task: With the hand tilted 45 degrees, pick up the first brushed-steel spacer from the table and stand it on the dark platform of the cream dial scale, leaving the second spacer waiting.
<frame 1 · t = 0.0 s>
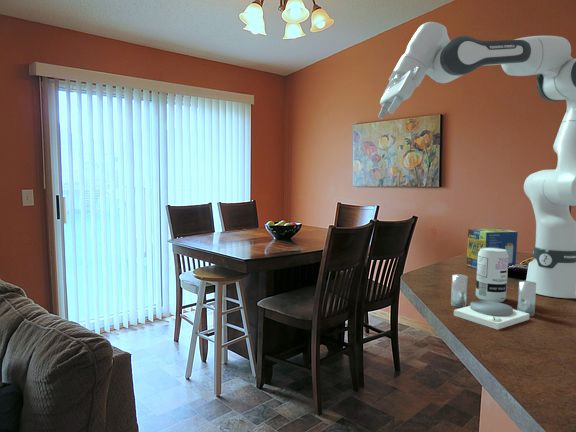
hand: (385, 115, 124), 54 cm above the countertop, tool tilted 30°, fingers open, 8 cm apart
scale: (490, 317, 108), on the countertop
supplement can: (490, 299, 125), on the countertop
spacer b: (525, 313, 111), on the countertop
protein box: (490, 268, 169), on the countertop
spacer a: (458, 305, 118), on the countertop
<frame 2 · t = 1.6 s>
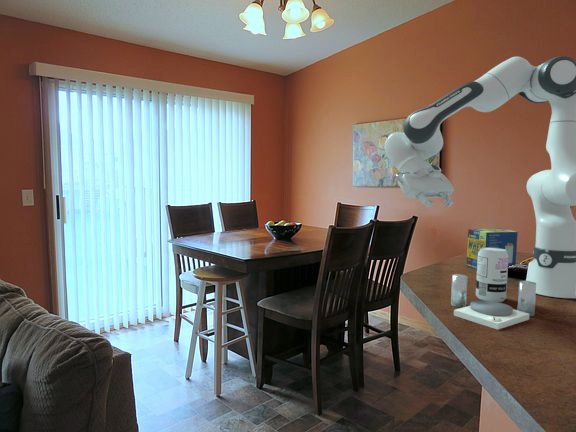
hand: (440, 205, 126), 28 cm above the countertop, tool tilted 45°, fingers open, 8 cm apart
nothing on the countertop moved.
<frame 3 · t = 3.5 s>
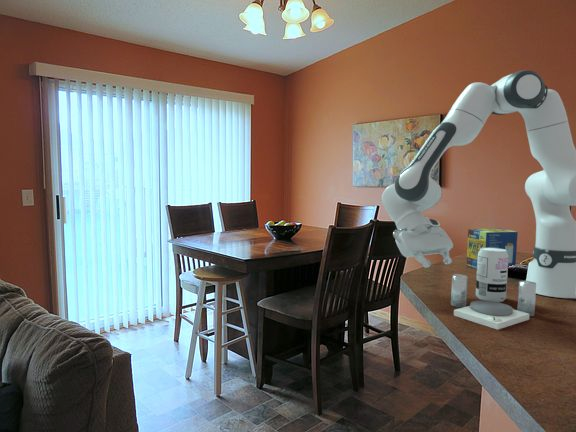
hand: (439, 264, 123), 10 cm above the countertop, tool tilted 45°, fingers open, 8 cm apart
nothing on the countertop moved.
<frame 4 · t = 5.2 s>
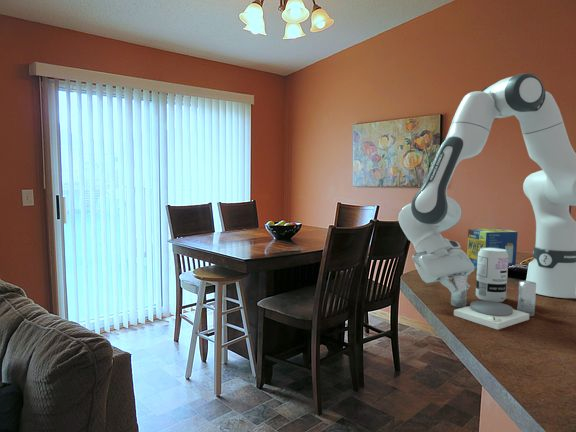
hand: (461, 290, 117), 4 cm above the countertop, tool tilted 45°, fingers closed on spacer a, 4 cm apart
spacer a: (458, 305, 118), on the countertop, touching gripper
everything else where it was.
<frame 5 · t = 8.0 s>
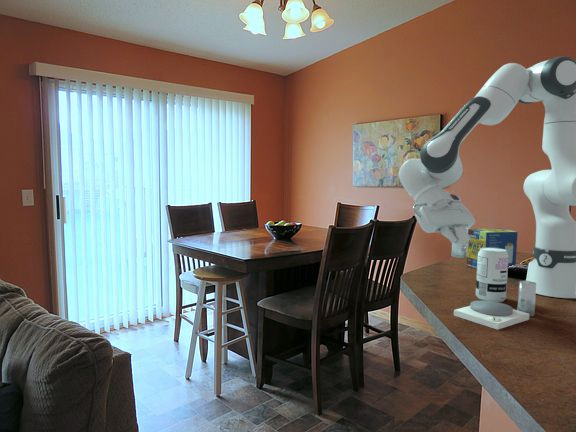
hand: (461, 240, 116), 18 cm above the countertop, tool tilted 45°, fingers closed on spacer a, 4 cm apart
spacer a: (459, 256, 117), point 14 cm above the countertop, touching gripper
everything else where it was.
when the fingers open (8 cm above the countertop, at t = 10.9 s): spacer a stays where it is, resting on scale.
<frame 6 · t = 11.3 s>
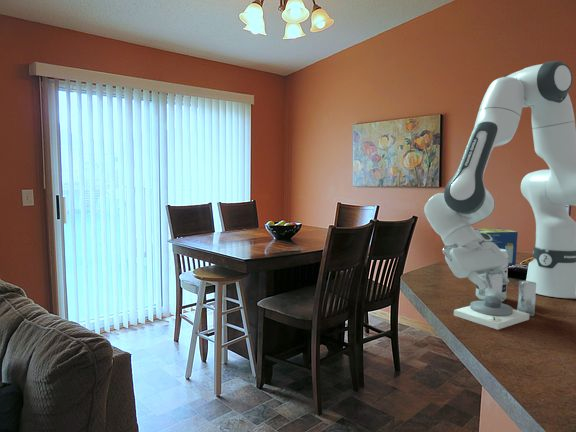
hand: (495, 286, 108), 8 cm above the countertop, tool tilted 45°, fingers open, 8 cm apart
spacer a: (492, 305, 110), point 3 cm above the countertop, touching scale
everything else where it was.
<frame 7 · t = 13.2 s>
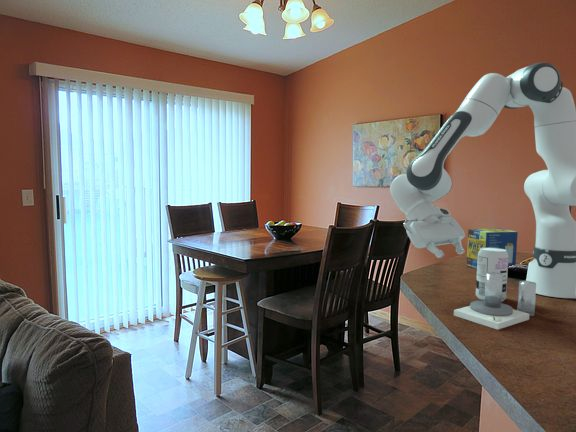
hand: (451, 254, 120), 14 cm above the countertop, tool tilted 45°, fingers open, 8 cm apart
nothing on the countertop moved.
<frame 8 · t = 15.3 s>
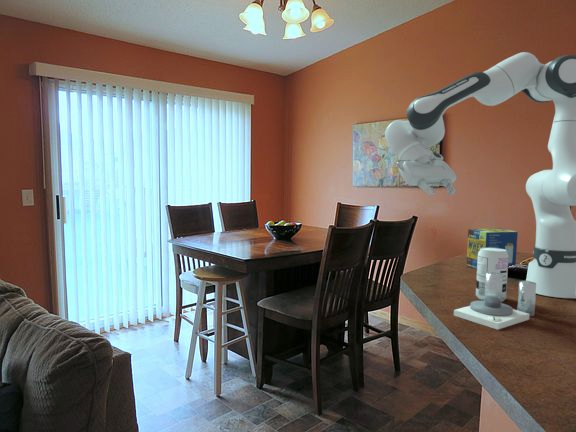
hand: (442, 193, 123), 31 cm above the countertop, tool tilted 45°, fingers open, 8 cm apart
nothing on the countertop moved.
at the end: spacer a inside the target area on the scale (0.6 cm from its centre), point 2.5 cm above the scale's base; spacer a tilted 0°; the gripper is holding nothing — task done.
